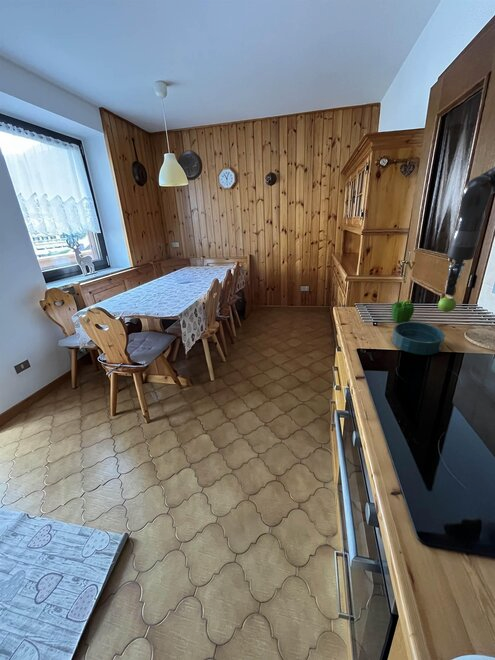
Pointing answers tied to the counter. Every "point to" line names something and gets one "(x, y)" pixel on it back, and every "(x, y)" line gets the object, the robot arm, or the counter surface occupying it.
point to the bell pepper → (402, 311)
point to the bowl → (418, 338)
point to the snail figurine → (447, 301)
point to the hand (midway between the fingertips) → (449, 291)
